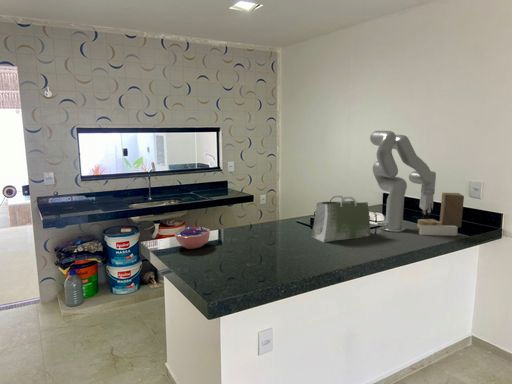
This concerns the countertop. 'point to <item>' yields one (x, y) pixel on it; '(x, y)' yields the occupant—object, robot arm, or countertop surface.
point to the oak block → (428, 222)
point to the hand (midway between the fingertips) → (425, 220)
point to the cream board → (438, 230)
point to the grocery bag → (341, 220)
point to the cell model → (192, 237)
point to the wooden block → (451, 209)
